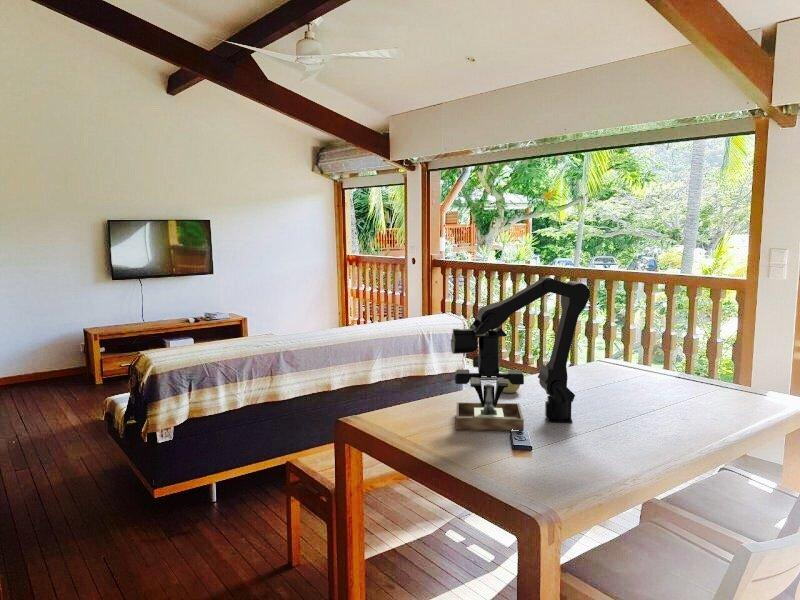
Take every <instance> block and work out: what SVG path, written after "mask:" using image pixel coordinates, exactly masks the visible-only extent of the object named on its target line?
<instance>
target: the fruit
mask: <svg viewBox="0 0 800 600" xmlns="http://www.w3.org/2000/svg"><path fill="white" fill-rule="evenodd" d="M508 370H510V368H508V369H507V371H504V372H502V373H508ZM507 383H508V387H505V388H504V389H503V391H502V393H507V394H508V393H510V394H512V393H516V392H517V391H518V390H519V389H520V387H521V385H512V384H511V383H510V381H509V380H508V382H507Z"/></svg>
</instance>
